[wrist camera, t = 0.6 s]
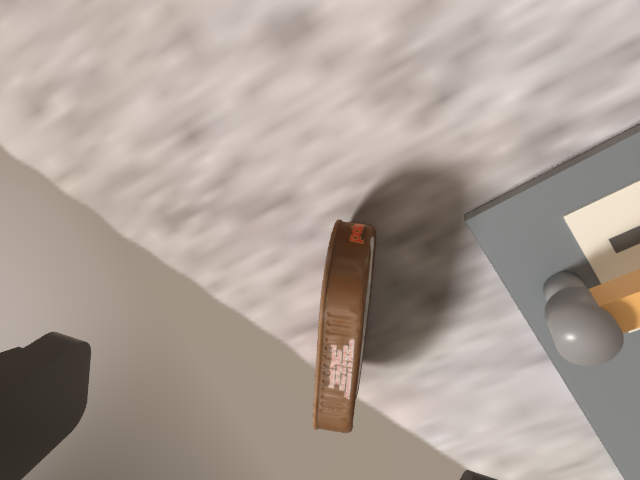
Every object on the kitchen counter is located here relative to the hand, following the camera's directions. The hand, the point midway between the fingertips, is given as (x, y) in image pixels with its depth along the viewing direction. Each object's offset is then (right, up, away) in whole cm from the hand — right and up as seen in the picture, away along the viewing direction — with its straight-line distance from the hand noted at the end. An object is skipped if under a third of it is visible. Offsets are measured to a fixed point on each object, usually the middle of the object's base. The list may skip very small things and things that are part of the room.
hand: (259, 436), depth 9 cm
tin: (+4, 0, +26) cm, 26 cm away
